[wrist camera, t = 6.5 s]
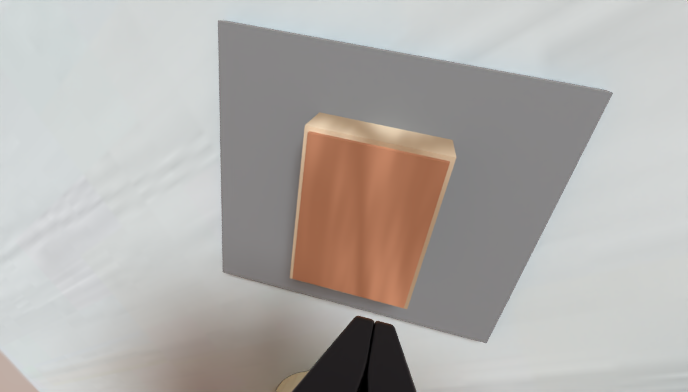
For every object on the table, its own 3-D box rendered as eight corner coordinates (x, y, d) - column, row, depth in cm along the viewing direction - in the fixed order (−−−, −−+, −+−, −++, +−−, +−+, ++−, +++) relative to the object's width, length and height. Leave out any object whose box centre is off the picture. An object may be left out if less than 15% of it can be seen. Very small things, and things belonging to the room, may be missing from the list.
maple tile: (456, 159, 13) (303, 126, 14) (407, 312, 17) (288, 280, 18) (452, 139, 15) (319, 112, 16) (409, 279, 19) (303, 252, 20)
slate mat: (605, 90, 14) (612, 92, 13) (484, 334, 20) (486, 343, 20) (225, 20, 16) (218, 20, 15) (227, 266, 22) (222, 271, 22)
